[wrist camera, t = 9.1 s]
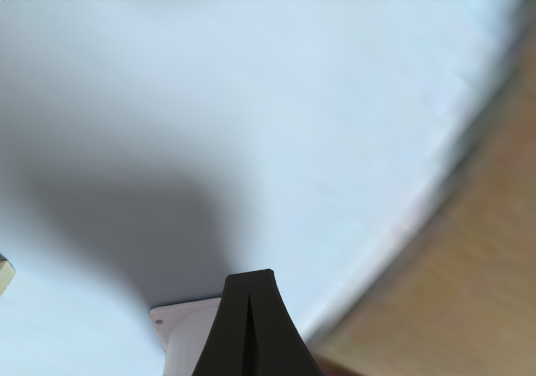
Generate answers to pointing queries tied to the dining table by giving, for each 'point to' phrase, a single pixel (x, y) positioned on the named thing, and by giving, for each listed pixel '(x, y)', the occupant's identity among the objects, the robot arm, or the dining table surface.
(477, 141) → the dining table surface
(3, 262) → the bin
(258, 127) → the dining table surface
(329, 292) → the dining table surface
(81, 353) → the dining table surface
